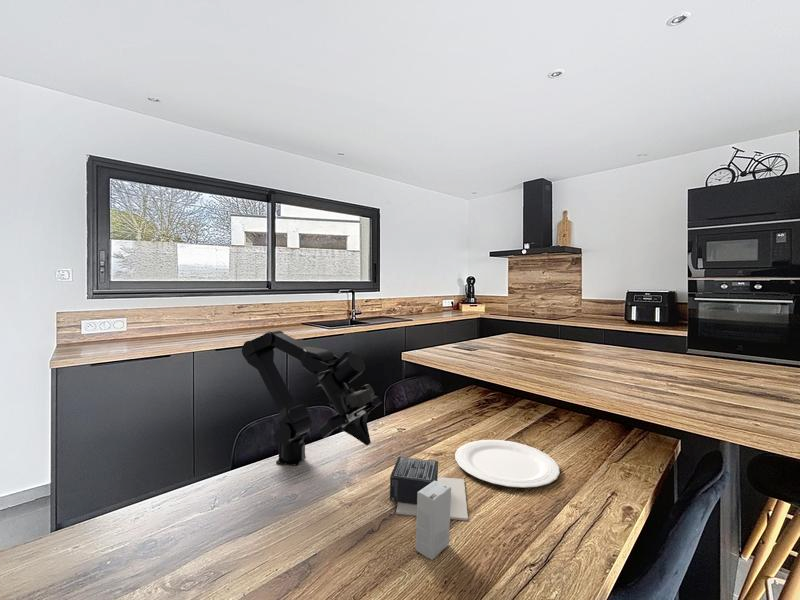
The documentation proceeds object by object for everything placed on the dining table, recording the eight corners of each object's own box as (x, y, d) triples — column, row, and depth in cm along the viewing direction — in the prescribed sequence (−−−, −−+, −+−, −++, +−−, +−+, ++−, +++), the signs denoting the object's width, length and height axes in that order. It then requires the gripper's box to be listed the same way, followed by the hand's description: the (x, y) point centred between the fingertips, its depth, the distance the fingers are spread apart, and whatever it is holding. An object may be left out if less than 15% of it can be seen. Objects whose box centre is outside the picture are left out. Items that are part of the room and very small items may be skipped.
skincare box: (432, 535, 78) (433, 478, 78) (450, 545, 75) (452, 486, 75) (413, 551, 74) (415, 490, 73) (432, 562, 71) (434, 499, 70)
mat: (396, 513, 85) (396, 511, 85) (403, 476, 102) (404, 474, 102) (467, 520, 83) (467, 518, 83) (463, 481, 100) (463, 479, 100)
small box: (389, 503, 89) (433, 508, 87) (389, 476, 89) (433, 481, 86) (398, 479, 99) (438, 484, 97) (398, 455, 99) (438, 459, 97)
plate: (574, 466, 111) (575, 460, 111) (532, 508, 89) (532, 500, 89) (486, 437, 130) (486, 431, 130) (434, 465, 109) (434, 459, 109)
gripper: (327, 389, 89) (362, 448, 85) (377, 367, 104) (408, 417, 100) (305, 410, 95) (336, 466, 91) (355, 386, 110) (384, 434, 106)
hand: (368, 444), depth 97 cm, fingers closed
